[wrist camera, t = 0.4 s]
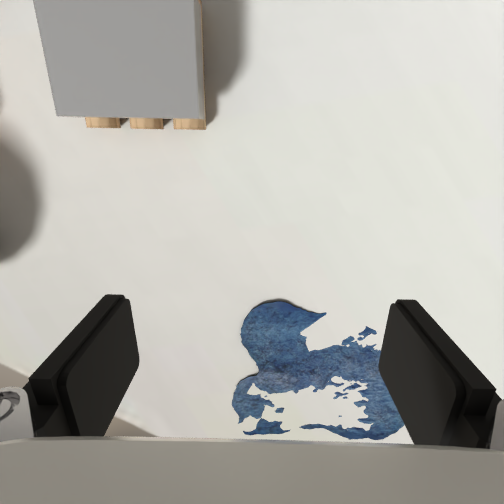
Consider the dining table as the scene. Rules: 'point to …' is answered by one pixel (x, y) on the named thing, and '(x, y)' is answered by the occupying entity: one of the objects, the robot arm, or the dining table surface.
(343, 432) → the blue ragged flat patch
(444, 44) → the dining table surface
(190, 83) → the grey slab
